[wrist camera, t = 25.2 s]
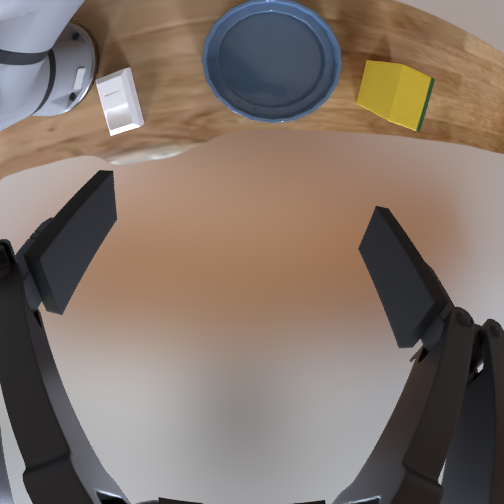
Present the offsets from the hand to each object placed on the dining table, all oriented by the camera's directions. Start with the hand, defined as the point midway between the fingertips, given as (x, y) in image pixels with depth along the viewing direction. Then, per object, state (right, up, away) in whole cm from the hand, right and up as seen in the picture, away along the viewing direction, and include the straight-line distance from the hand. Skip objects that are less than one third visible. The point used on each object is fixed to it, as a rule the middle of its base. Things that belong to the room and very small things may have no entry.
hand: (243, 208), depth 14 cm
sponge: (+18, +21, +20) cm, 34 cm away
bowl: (+3, +23, +18) cm, 30 cm away
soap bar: (-18, +20, +21) cm, 34 cm away
